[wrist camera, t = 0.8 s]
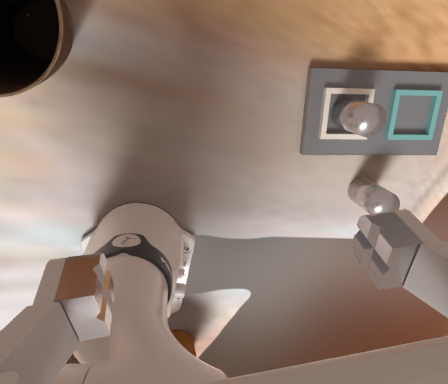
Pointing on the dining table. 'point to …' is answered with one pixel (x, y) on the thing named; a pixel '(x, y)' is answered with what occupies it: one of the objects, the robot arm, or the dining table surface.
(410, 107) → the grey flat plate
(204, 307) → the dining table surface
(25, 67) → the plant pot
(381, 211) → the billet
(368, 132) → the grey tall round-topped piece
